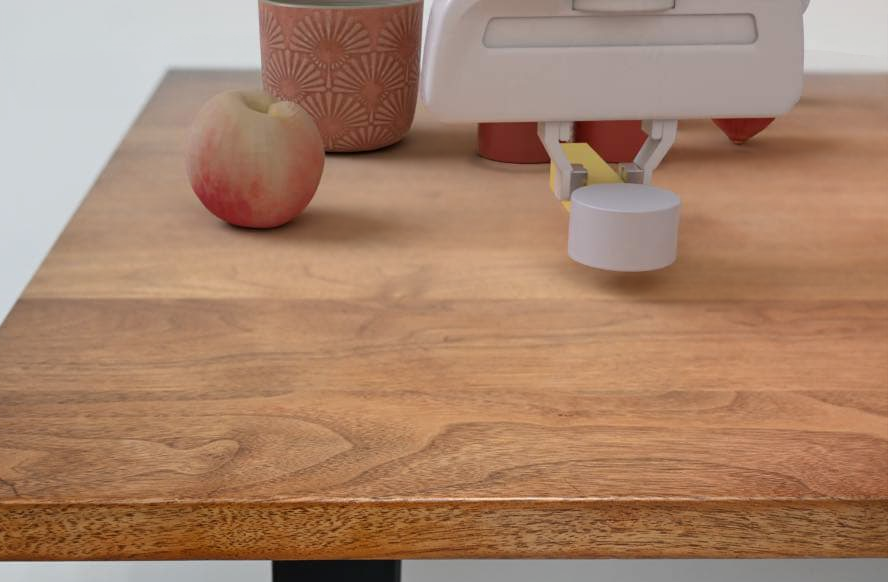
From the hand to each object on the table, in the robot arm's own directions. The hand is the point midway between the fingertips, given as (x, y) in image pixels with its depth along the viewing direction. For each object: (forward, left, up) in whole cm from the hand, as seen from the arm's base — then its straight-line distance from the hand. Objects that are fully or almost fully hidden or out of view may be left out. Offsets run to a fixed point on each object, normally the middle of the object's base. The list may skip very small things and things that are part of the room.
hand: (601, 198), depth 70 cm
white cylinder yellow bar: (0, -1, -2) cm, 2 cm away
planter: (+13, -29, -4) cm, 32 cm away
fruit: (+19, -7, -4) cm, 21 cm away
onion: (-18, -28, -4) cm, 33 cm away
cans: (-4, -25, -3) cm, 26 cm away
